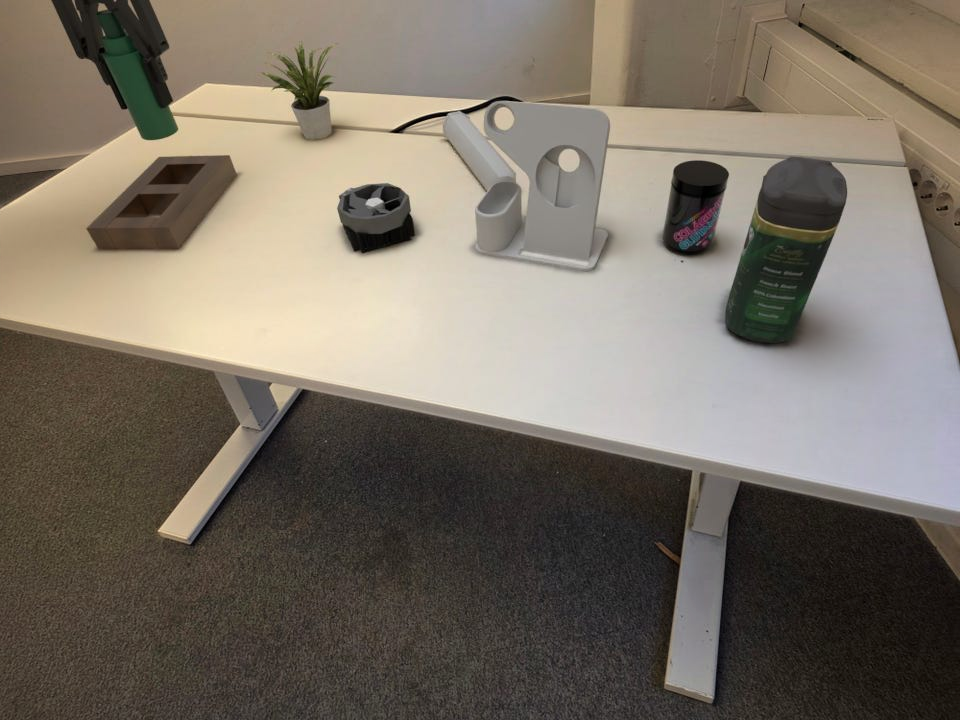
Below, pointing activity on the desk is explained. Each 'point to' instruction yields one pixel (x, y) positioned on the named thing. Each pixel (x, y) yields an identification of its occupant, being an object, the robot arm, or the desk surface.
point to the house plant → (307, 94)
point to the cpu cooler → (375, 216)
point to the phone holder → (546, 186)
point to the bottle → (134, 81)
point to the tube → (476, 150)
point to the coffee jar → (785, 248)
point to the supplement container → (694, 206)
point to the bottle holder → (163, 203)
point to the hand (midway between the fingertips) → (147, 104)
